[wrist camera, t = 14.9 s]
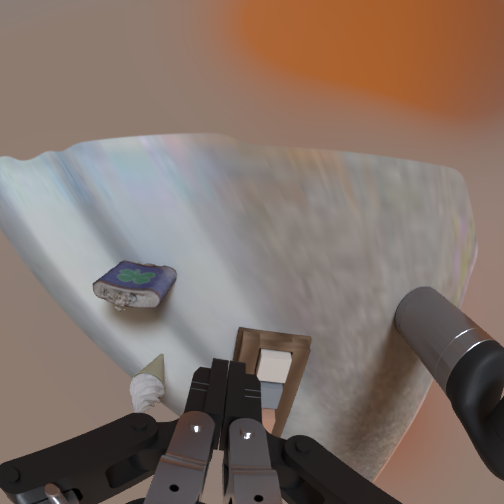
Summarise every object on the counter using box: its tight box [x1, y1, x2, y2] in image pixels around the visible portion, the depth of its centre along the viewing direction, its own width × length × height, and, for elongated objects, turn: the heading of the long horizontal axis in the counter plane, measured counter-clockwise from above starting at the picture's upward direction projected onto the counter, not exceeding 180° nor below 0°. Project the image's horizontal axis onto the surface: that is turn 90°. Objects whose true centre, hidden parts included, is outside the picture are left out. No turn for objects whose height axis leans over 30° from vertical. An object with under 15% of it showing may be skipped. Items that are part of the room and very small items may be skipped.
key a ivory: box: [256, 348, 292, 383], centre depth 42 cm, size 4×4×3 cm
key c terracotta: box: [262, 408, 275, 434], centre depth 44 cm, size 4×4×3 cm
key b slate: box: [259, 380, 283, 409], centre depth 44 cm, size 4×4×3 cm
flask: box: [93, 260, 176, 311], centre depth 38 cm, size 9×3×11 cm, turn 82°
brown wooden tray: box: [233, 327, 312, 438], centre depth 47 cm, size 11×23×4 cm, turn 170°
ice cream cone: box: [129, 354, 166, 413], centre depth 40 cm, size 5×5×15 cm
